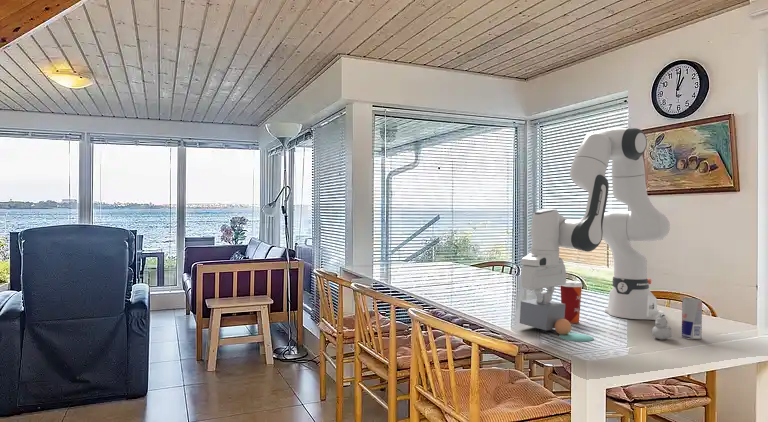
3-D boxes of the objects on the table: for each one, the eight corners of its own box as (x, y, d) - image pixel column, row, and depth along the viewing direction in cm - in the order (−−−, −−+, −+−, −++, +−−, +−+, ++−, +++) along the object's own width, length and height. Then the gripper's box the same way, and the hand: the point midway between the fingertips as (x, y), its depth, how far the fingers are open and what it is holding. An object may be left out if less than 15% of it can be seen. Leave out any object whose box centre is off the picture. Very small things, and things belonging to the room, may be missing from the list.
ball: (562, 315, 170) (575, 321, 166) (559, 330, 171) (572, 336, 167) (552, 317, 167) (566, 323, 163) (550, 332, 168) (563, 338, 164)
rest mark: (570, 332, 170) (570, 331, 170) (599, 338, 163) (599, 337, 163) (552, 336, 164) (552, 336, 164) (582, 343, 156) (582, 342, 156)
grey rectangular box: (537, 319, 180) (539, 288, 179) (564, 326, 172) (566, 294, 172) (519, 323, 174) (521, 291, 173) (546, 330, 166) (548, 297, 165)
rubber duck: (646, 338, 164) (647, 312, 164) (661, 336, 167) (662, 310, 167) (662, 342, 159) (662, 315, 159) (677, 340, 162) (677, 314, 162)
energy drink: (680, 335, 168) (681, 297, 168) (699, 336, 166) (700, 298, 166) (683, 338, 163) (683, 300, 163) (703, 340, 161) (703, 301, 161)
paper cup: (583, 324, 182) (584, 283, 182) (560, 323, 184) (561, 282, 184) (580, 319, 190) (580, 280, 190) (557, 318, 191) (558, 279, 191)
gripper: (554, 256, 181) (554, 296, 181) (517, 259, 168) (517, 303, 168) (571, 257, 176) (570, 299, 176) (534, 261, 163) (534, 306, 163)
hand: (544, 301), depth 172 cm, fingers closed on grey rectangular box, 3 cm apart
